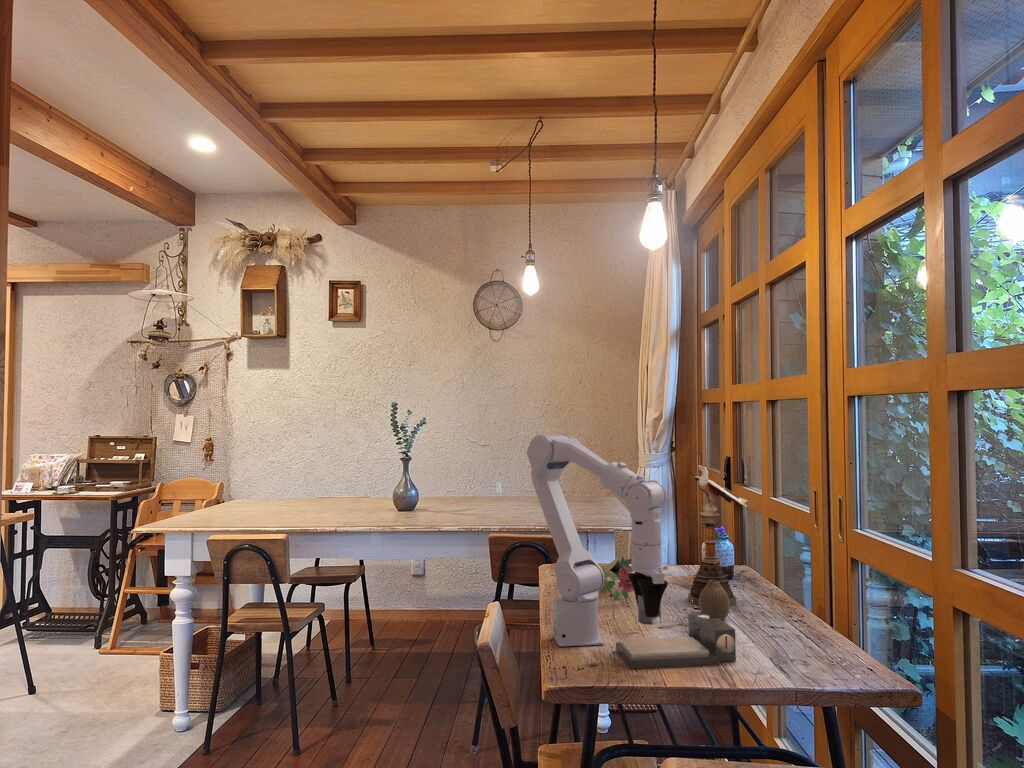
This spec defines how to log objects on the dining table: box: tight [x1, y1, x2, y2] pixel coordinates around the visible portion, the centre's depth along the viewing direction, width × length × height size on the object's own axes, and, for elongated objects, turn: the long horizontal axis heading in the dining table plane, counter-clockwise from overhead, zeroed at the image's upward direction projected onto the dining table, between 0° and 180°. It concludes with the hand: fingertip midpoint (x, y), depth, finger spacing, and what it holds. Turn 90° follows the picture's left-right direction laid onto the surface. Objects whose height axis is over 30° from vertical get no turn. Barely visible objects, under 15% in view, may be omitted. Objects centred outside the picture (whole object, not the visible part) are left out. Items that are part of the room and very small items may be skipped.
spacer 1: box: [637, 593, 662, 626], centre depth 141 cm, size 4×4×5 cm
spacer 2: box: [687, 611, 710, 641], centre depth 153 cm, size 4×4×5 cm
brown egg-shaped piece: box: [698, 580, 731, 621], centre depth 168 cm, size 7×7×9 cm
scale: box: [615, 618, 737, 670], centre depth 141 cm, size 21×11×6 cm, turn 96°
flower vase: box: [597, 555, 634, 602], centre depth 193 cm, size 12×12×35 cm
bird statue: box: [687, 464, 749, 607], centre depth 185 cm, size 17×13×35 cm
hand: (647, 613), depth 141 cm, fingers closed on spacer 1, 4 cm apart
